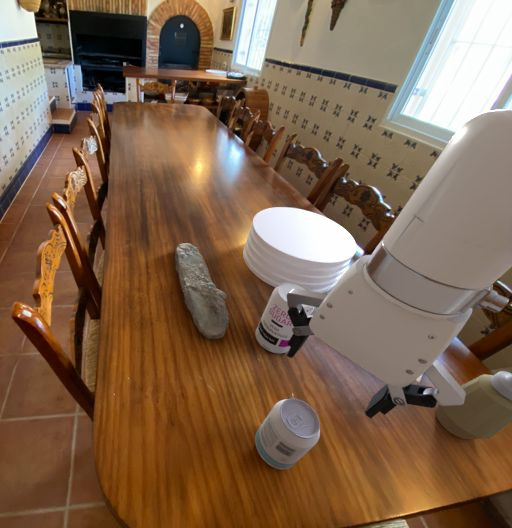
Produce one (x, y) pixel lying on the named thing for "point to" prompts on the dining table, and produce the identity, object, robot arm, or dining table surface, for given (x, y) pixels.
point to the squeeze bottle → (480, 408)
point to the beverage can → (287, 433)
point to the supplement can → (278, 320)
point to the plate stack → (297, 248)
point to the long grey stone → (201, 293)
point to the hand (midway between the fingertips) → (329, 377)
